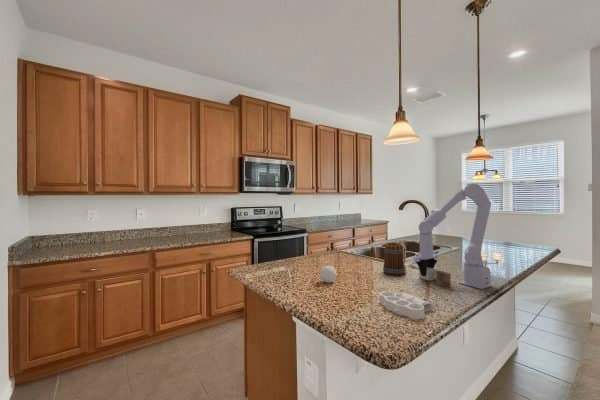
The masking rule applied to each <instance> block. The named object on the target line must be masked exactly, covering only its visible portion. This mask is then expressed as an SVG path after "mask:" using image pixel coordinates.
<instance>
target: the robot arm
mask: <svg viewBox="0 0 600 400" xmlns="http://www.w3.org/2000/svg"><path fill="white" fill-rule="evenodd" d="M467 198H469V199H470V200H471V201H473V202H474V203H475V205H476V207H477V208H476V211H475V213H476V214H475V216H474V217H475V218H474V222H473V227H472V231H471V236H470V240H469V243H468V246H467V248H465V251H464V260H465V261H463V280H462V281H459V284H462V285H464V286H469V287H473V288H476V289H480V290H484V289H487V288H490V287H493V285H492V283H491V282H492V281H491V280H492V279H491V274H492V272H491V269H490V267H488V266H486V265H484V263H483V262H482V260H483V257H482V248H483V242H484V238H485V233H486V229H487V224H488V219H489V216H490V210H491V208H492V207H491V206H492V202H491V200H490V199H489V197H488V195H487V192H486V191H485V189H484V188H483V187H482V186H480V185H479V184H478V183H469V184H467V185H466V186H465V187H464V188H462V189H460V190H459V191H458V192H456V193H455V194H454V195H453V196H451V198H450V199H449V200H448V201H446V203H444V205H443V206H441V208H436V209H432V210H431V211H430V214H429V215H428V216H426V217H424V218H423V221H421V222H420V223H419V225H418V231H419V238H418V239H419V254H417V256H414V258H413V261H414V262H415V263H416V265H417V267H418V270H419V269H420V273H421V275H422V276H426V270H427V267H429V268H434V267H435V265H437V262H438V258H439V254H438V253H434V245H433V244H434V243H433V241H434V239H433V237H434V236H433V230H434V228H436V227H438V226H439V225H440V223H442V222H443V221H444V220H445V219H446V218H447V213H448V212H449V211H451V210H452V208H454V207H455V206H456V205H457V204H458V203H459V202H462V201H465V200H467Z"/></svg>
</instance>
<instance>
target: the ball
mask: <svg viewBox="0 0 600 400" xmlns="http://www.w3.org/2000/svg"><path fill="white" fill-rule="evenodd" d="M319 275H320V279H321V280H322V281H323V282H324V283H327V284H329V283H333V282H335V280H336V279H337V277H338V273H337V270H336V268H335V267H334V266H331V265H326V266H322V268H321V270H320V272H319Z"/></svg>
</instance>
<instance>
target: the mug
mask: <svg viewBox="0 0 600 400" xmlns="http://www.w3.org/2000/svg"><path fill="white" fill-rule="evenodd" d="M383 250H384V251H383V252H384V254H383V255H384V256H383V257H384V258H383V266H382V267H383V268H382V270H383V273H384V274H386V275H388V276H394V277H395V276H396V277H397V276H398V277H400V276H403V275H405V273H406V267H405V262H404V249H403V244H402V243H401V242H398V241H395V242H386V243H385V244H384V249H383Z"/></svg>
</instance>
